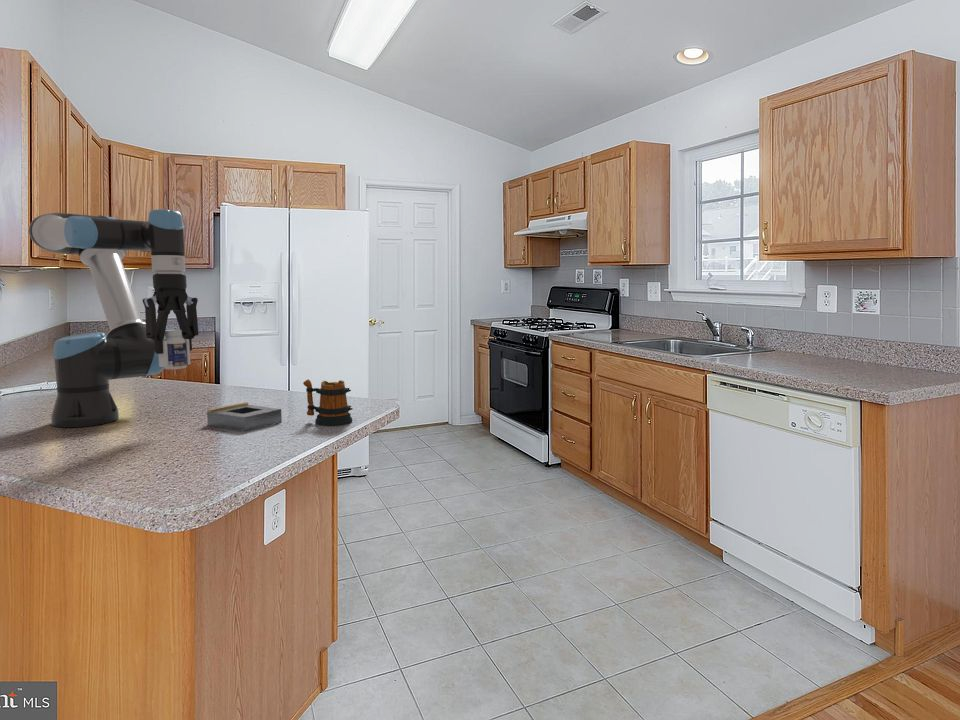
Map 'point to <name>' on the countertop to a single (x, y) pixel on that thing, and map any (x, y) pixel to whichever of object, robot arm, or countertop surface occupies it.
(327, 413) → the mug
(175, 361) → the pill bottle
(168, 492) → the countertop surface
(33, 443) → the countertop surface
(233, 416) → the jig
